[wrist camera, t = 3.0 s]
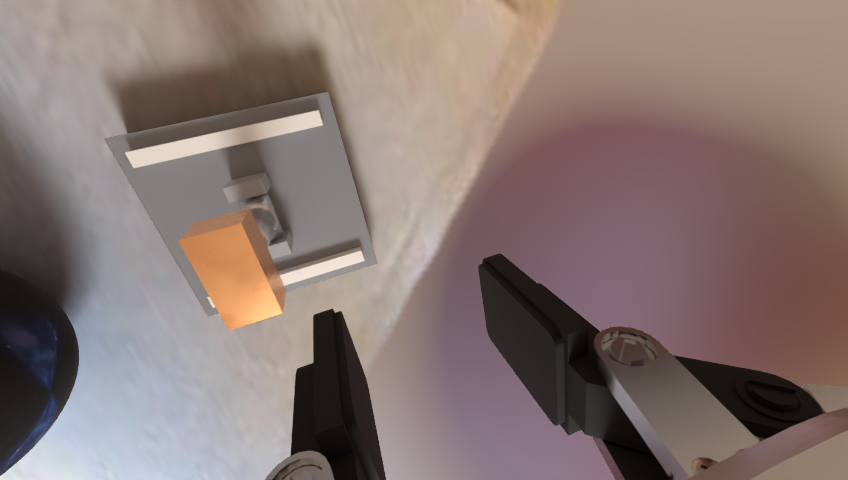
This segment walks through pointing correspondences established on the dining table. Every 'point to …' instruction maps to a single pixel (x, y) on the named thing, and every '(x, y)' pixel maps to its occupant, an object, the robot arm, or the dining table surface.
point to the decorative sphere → (31, 366)
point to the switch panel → (255, 185)
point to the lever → (238, 261)
